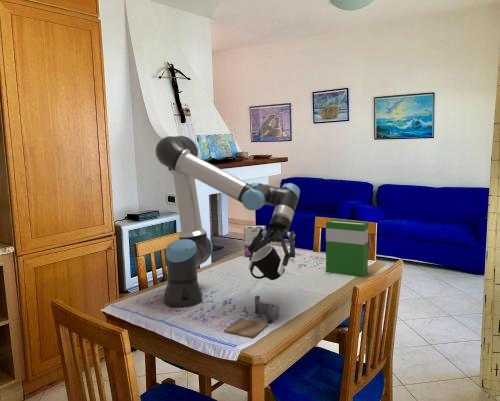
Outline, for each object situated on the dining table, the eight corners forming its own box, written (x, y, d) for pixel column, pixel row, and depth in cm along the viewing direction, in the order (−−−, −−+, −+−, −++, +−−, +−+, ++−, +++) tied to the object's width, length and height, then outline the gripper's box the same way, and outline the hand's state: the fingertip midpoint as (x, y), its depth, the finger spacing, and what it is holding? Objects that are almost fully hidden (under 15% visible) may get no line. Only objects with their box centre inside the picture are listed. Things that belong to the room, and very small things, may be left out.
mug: (285, 262, 163) (270, 241, 161) (290, 271, 155) (274, 249, 152) (258, 281, 163) (243, 260, 161) (262, 291, 155) (245, 269, 152)
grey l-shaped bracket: (246, 318, 157) (246, 302, 156) (256, 310, 164) (256, 295, 163) (271, 323, 152) (271, 307, 151) (280, 315, 159) (280, 299, 158)
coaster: (224, 331, 147) (223, 330, 147) (240, 319, 156) (240, 317, 156) (253, 338, 142) (253, 336, 141) (268, 325, 151) (268, 323, 151)
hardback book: (325, 271, 209) (326, 221, 205) (331, 267, 215) (331, 219, 211) (363, 277, 200) (363, 224, 196) (367, 272, 206) (368, 222, 203)
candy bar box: (266, 255, 240) (266, 225, 238) (265, 257, 235) (264, 227, 233) (246, 254, 242) (245, 225, 240) (244, 257, 237) (243, 226, 235)
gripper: (313, 227, 164) (298, 280, 153) (257, 223, 175) (239, 273, 164) (308, 215, 159) (292, 269, 148) (250, 212, 170) (232, 262, 158)
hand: (264, 271), depth 156 cm, fingers closed on mug, 11 cm apart
